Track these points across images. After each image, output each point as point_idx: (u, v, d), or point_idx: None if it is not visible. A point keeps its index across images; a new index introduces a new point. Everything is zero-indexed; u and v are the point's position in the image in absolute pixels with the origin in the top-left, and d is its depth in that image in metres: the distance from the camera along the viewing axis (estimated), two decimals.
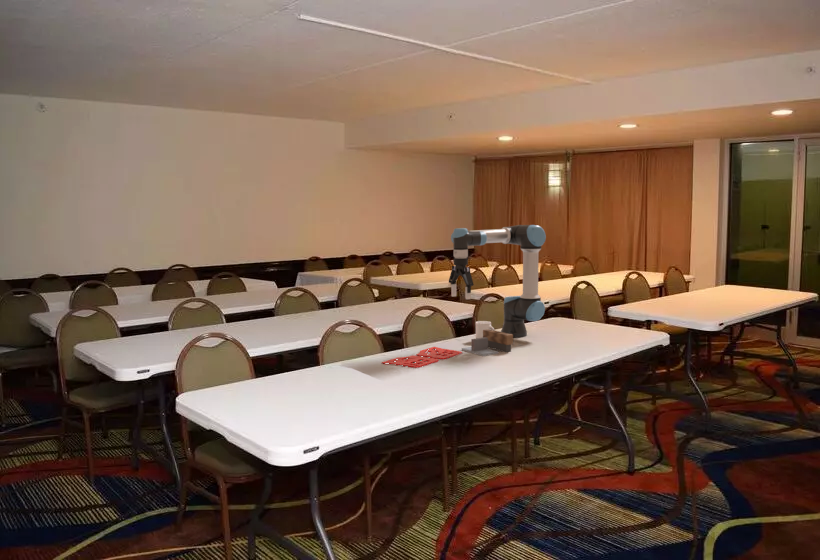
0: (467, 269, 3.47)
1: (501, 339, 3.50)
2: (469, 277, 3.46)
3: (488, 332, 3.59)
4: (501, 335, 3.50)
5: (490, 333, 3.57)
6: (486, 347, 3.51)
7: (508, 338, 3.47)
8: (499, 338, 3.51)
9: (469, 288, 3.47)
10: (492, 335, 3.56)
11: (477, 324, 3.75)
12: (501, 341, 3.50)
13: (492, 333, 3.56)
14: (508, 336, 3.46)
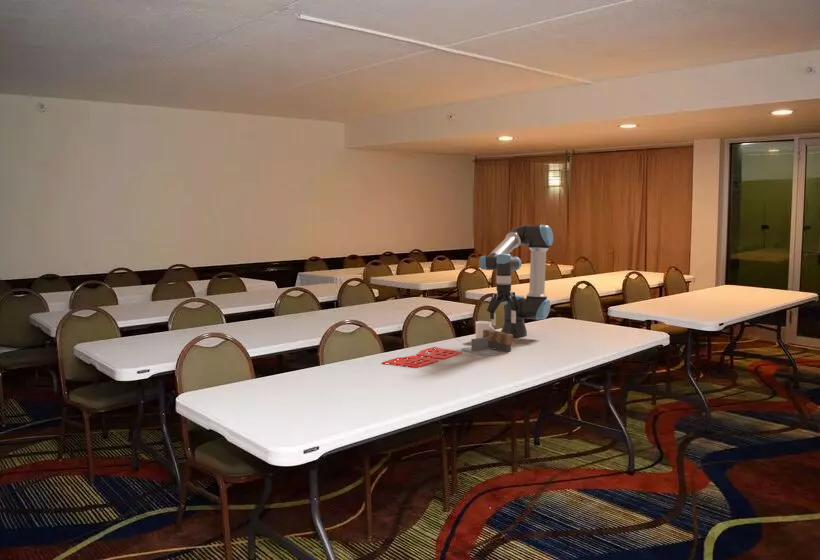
0: (493, 295, 3.46)
1: (501, 339, 3.50)
2: (490, 303, 3.45)
3: (488, 332, 3.59)
4: (501, 335, 3.50)
5: (490, 333, 3.57)
6: (486, 347, 3.51)
7: (508, 338, 3.47)
8: (499, 338, 3.51)
9: (491, 314, 3.46)
10: (492, 335, 3.56)
11: (477, 324, 3.75)
12: (501, 341, 3.50)
13: (492, 333, 3.56)
14: (508, 336, 3.46)
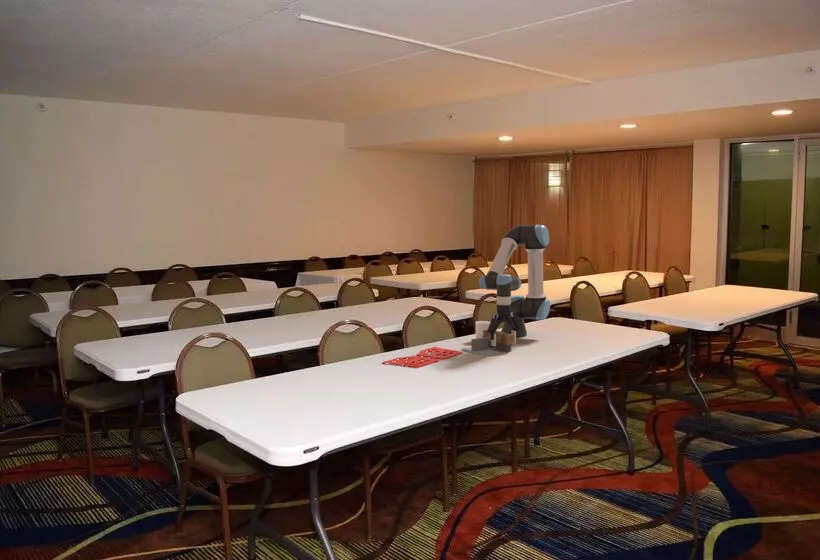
0: (493, 316, 3.47)
1: (501, 339, 3.50)
2: (491, 324, 3.46)
3: (488, 332, 3.59)
4: (501, 335, 3.50)
5: None
6: (486, 347, 3.51)
7: (508, 338, 3.47)
8: (499, 338, 3.51)
9: (491, 335, 3.47)
10: None
11: (477, 324, 3.75)
12: (501, 341, 3.50)
13: None
14: (508, 336, 3.46)
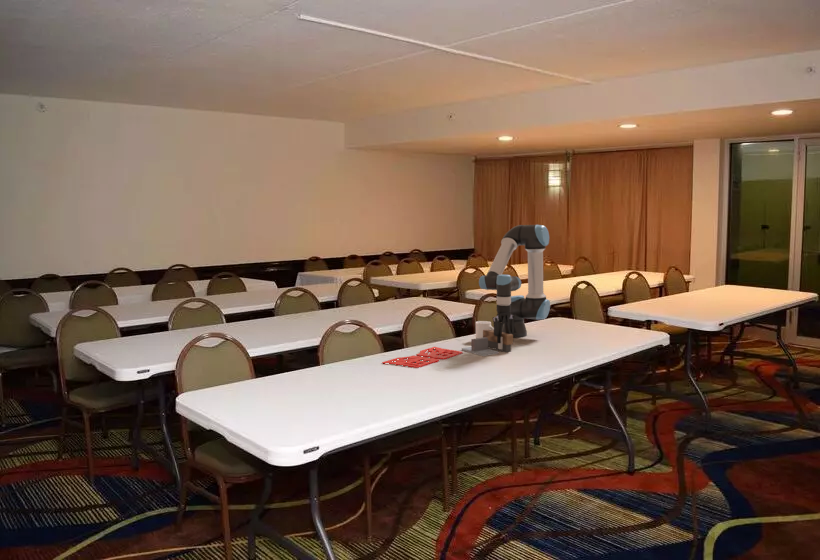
0: (493, 319, 3.47)
1: None
2: (495, 327, 3.48)
3: (488, 332, 3.59)
4: (501, 335, 3.50)
5: (490, 333, 3.57)
6: (486, 347, 3.51)
7: (508, 338, 3.47)
8: None
9: (497, 338, 3.50)
10: (492, 335, 3.56)
11: (477, 324, 3.75)
12: None
13: (492, 333, 3.56)
14: (508, 336, 3.47)
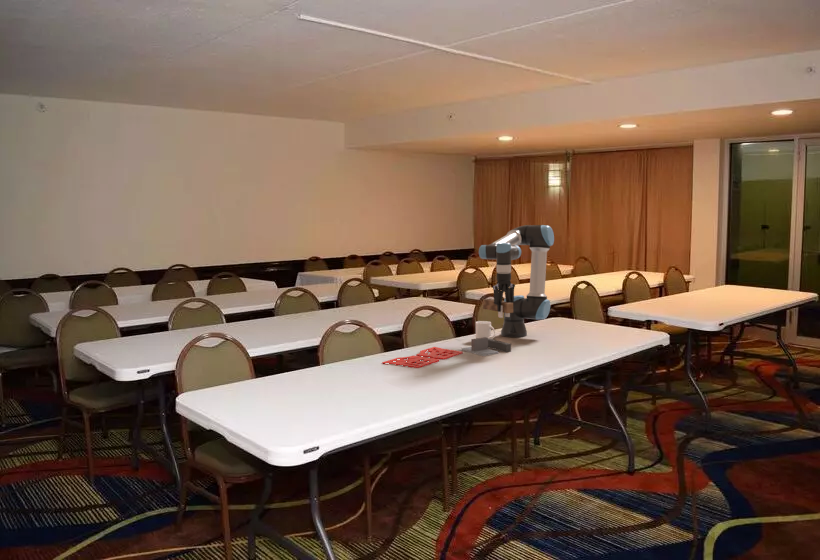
0: (493, 288, 3.46)
1: None
2: (495, 296, 3.46)
3: (488, 301, 3.57)
4: (501, 304, 3.48)
5: (490, 302, 3.56)
6: (486, 347, 3.51)
7: (508, 306, 3.45)
8: None
9: (498, 307, 3.48)
10: (492, 304, 3.55)
11: (477, 324, 3.75)
12: None
13: (492, 302, 3.54)
14: (508, 304, 3.45)
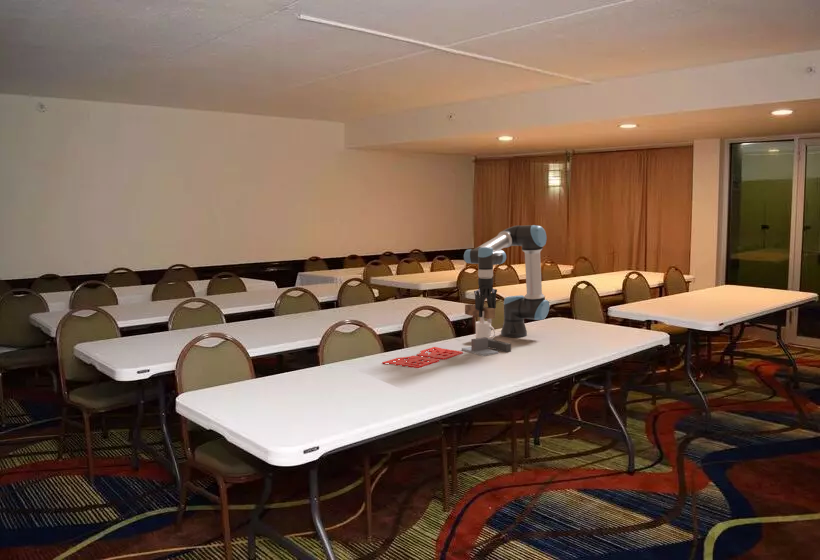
0: (475, 293, 3.39)
1: None
2: (476, 301, 3.40)
3: (470, 307, 3.51)
4: (483, 309, 3.42)
5: (472, 308, 3.49)
6: (486, 347, 3.51)
7: (490, 312, 3.39)
8: None
9: (479, 312, 3.42)
10: (474, 309, 3.48)
11: (477, 324, 3.75)
12: None
13: (474, 307, 3.48)
14: (490, 310, 3.39)
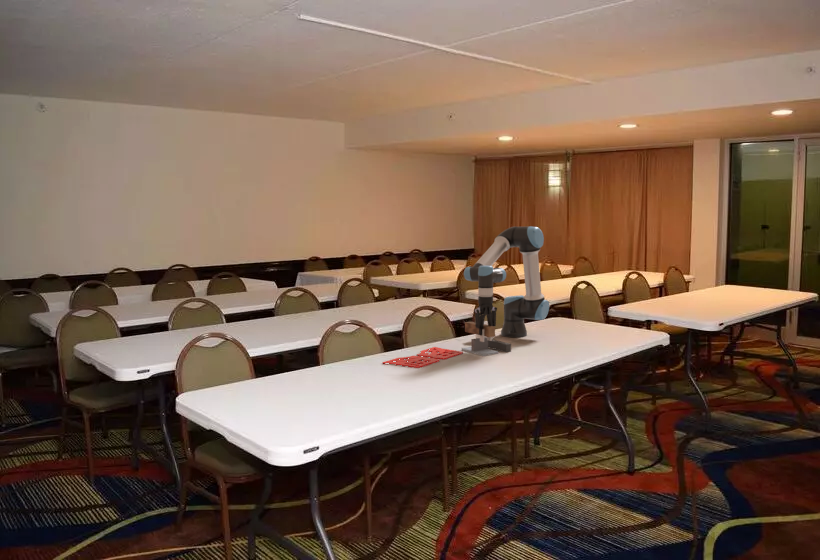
0: (475, 311, 3.40)
1: None
2: (476, 319, 3.41)
3: (470, 324, 3.52)
4: (483, 327, 3.43)
5: (472, 325, 3.50)
6: (486, 347, 3.51)
7: (490, 330, 3.40)
8: None
9: (479, 330, 3.43)
10: (474, 327, 3.49)
11: None
12: None
13: (474, 325, 3.49)
14: (490, 328, 3.40)
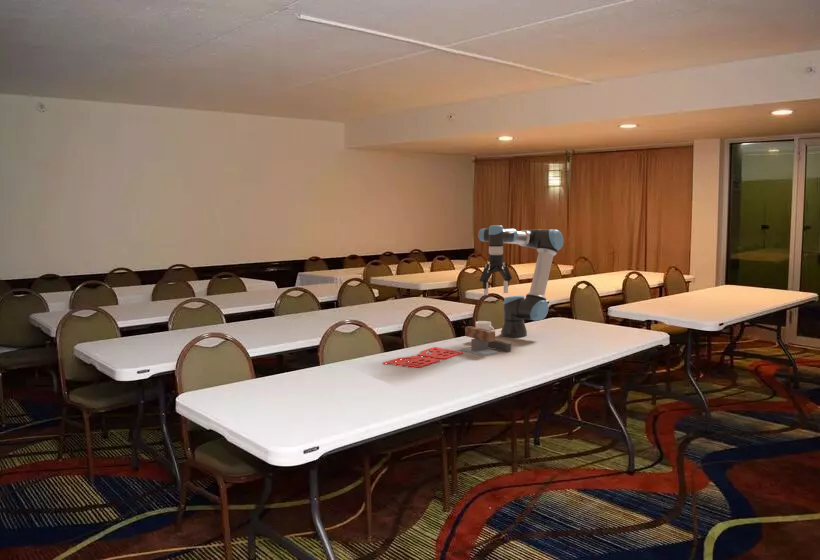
0: (485, 265, 3.54)
1: (483, 336, 3.43)
2: (483, 273, 3.54)
3: (470, 329, 3.52)
4: (483, 332, 3.43)
5: (472, 330, 3.51)
6: (486, 347, 3.51)
7: (490, 335, 3.40)
8: (481, 335, 3.44)
9: (483, 284, 3.54)
10: (474, 332, 3.49)
11: (477, 324, 3.75)
12: (483, 338, 3.43)
13: (474, 330, 3.49)
14: (490, 333, 3.40)
